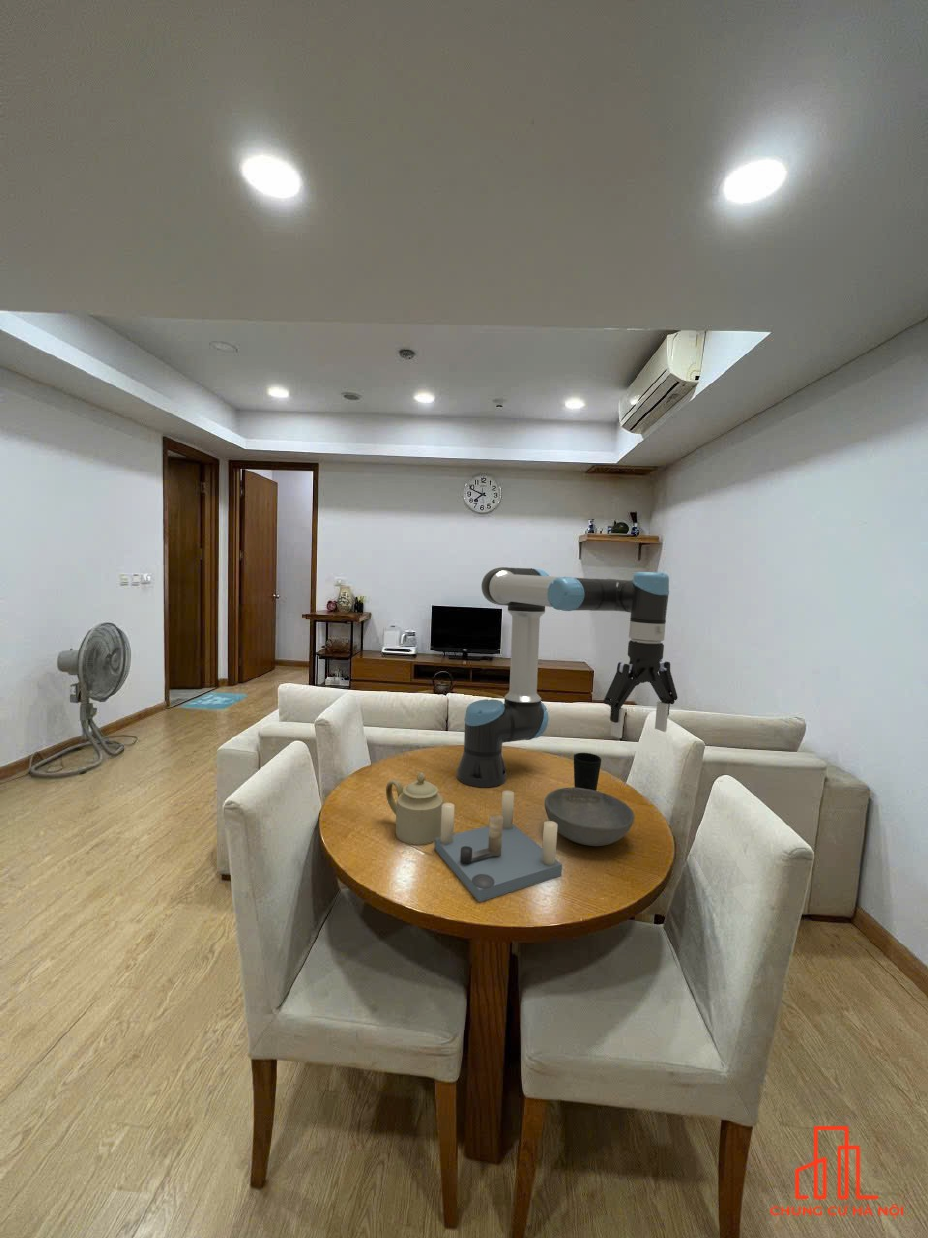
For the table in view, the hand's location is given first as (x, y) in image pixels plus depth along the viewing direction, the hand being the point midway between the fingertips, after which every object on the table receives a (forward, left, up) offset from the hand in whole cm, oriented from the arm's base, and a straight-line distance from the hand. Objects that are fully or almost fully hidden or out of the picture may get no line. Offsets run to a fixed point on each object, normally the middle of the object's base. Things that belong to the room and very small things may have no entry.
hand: (638, 733), depth 112 cm
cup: (-24, +8, -28) cm, 38 cm away
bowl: (-8, -6, -28) cm, 30 cm away
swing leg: (-7, -36, -25) cm, 45 cm away
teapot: (-27, -44, -28) cm, 59 cm away
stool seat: (-8, -32, -28) cm, 43 cm away
